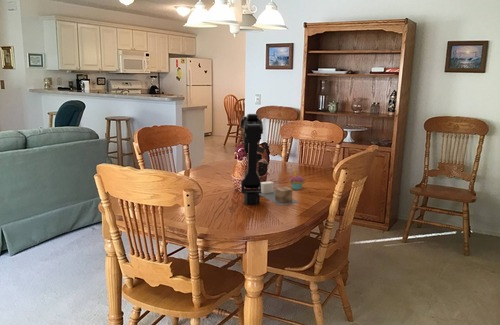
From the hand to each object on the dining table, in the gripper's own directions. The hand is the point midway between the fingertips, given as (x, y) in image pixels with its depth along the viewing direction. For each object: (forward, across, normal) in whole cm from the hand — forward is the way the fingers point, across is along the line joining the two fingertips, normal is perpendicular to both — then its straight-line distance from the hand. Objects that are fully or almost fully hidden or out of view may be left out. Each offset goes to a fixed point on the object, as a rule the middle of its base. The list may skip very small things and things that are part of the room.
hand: (248, 170), depth 219 cm
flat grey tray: (+12, -16, -8) cm, 21 cm away
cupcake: (+12, -3, -28) cm, 30 cm away
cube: (+11, -23, -8) cm, 27 cm away
